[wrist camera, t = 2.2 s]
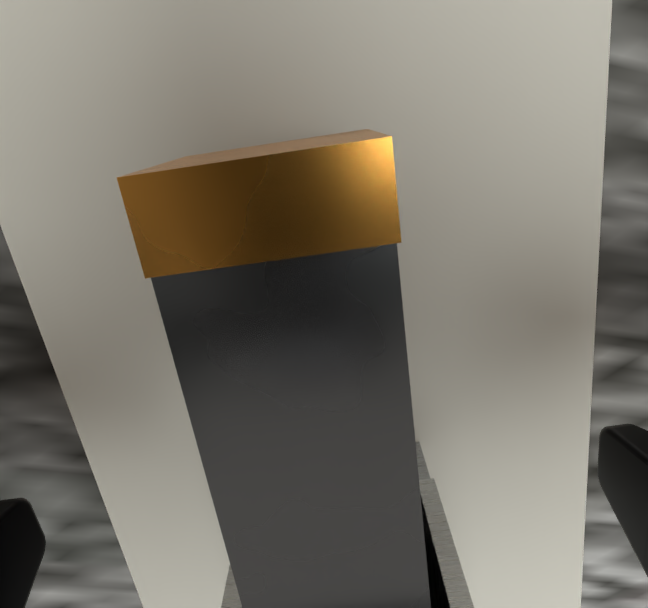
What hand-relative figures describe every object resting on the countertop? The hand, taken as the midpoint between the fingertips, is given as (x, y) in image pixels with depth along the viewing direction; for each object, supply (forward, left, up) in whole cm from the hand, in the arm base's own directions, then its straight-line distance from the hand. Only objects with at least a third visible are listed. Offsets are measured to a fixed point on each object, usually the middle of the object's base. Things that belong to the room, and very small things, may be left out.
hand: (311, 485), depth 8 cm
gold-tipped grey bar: (0, -3, -3) cm, 4 cm away
